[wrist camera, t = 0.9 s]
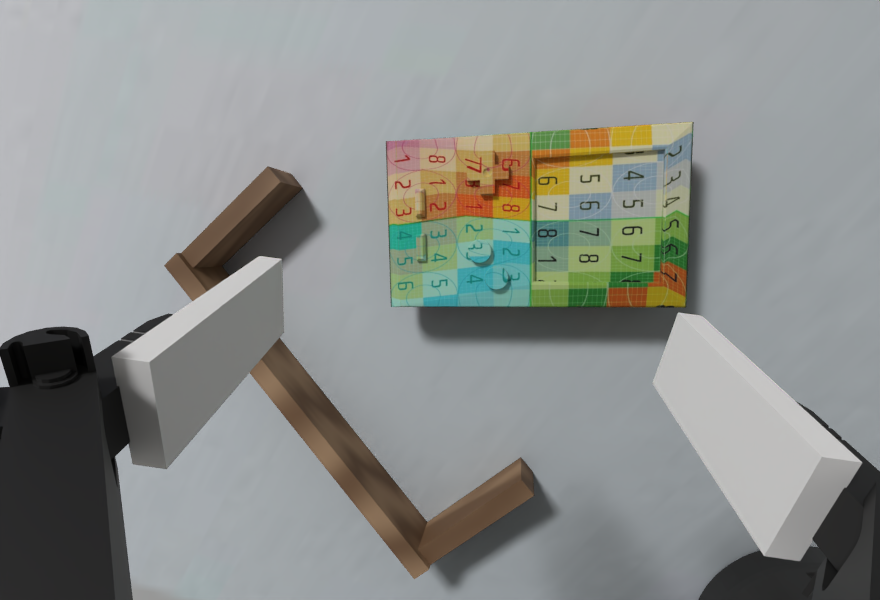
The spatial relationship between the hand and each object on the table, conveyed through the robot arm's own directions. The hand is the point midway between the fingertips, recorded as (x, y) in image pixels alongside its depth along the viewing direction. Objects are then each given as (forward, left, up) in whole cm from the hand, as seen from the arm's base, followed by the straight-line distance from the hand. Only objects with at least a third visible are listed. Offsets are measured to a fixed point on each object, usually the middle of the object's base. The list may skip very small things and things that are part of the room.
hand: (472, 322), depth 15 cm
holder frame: (+2, +13, -20) cm, 24 cm away
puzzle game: (+2, -4, -21) cm, 21 cm away
